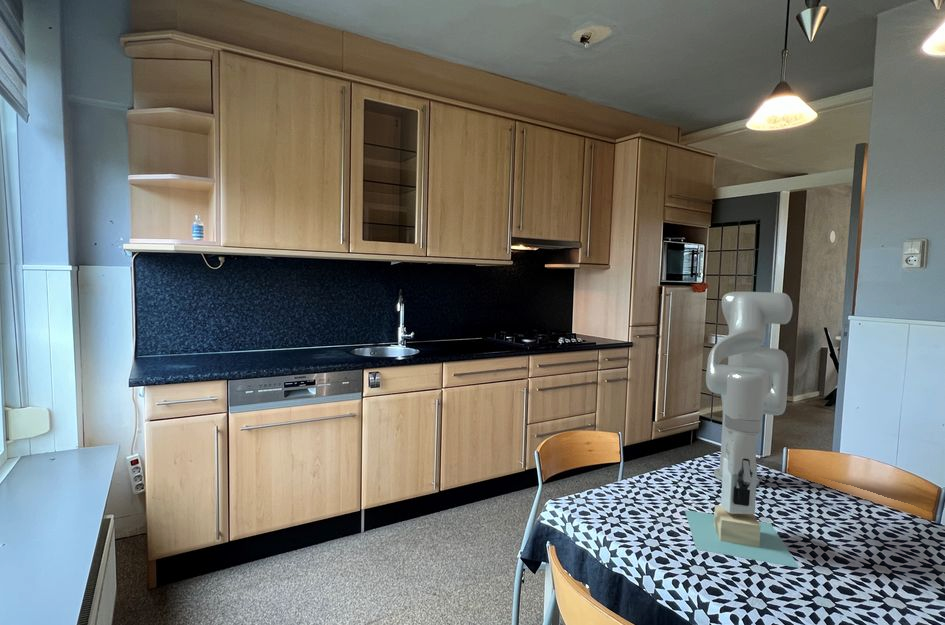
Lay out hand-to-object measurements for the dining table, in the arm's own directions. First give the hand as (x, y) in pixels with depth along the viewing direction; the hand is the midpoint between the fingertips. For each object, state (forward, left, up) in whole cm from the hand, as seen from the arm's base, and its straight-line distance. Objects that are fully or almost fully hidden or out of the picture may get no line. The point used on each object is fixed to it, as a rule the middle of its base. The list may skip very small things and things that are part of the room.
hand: (737, 498), depth 112 cm
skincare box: (0, 0, -3) cm, 3 cm away
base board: (0, 0, -10) cm, 10 cm away
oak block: (0, 0, -9) cm, 9 cm away
